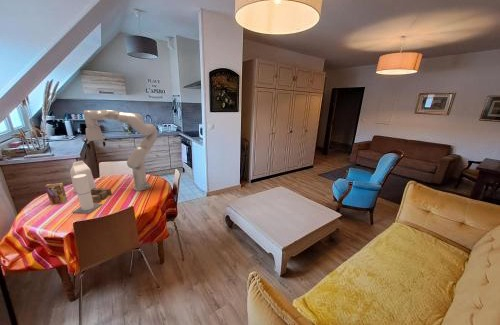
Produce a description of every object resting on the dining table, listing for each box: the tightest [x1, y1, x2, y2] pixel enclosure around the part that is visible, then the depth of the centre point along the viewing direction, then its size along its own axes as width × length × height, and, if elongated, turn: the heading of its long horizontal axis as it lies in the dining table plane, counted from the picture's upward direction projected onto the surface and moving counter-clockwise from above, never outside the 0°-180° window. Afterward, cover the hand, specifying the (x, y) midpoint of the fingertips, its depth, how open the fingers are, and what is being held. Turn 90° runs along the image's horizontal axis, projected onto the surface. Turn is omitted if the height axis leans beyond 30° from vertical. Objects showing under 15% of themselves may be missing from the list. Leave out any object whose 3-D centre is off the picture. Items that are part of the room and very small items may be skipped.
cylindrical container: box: [73, 174, 95, 210], centre depth 140 cm, size 7×7×25 cm
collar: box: [91, 187, 113, 204], centre depth 159 cm, size 15×15×5 cm
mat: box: [72, 203, 103, 215], centre depth 144 cm, size 12×12×1 cm
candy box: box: [44, 182, 68, 205], centre depth 149 cm, size 9×4×15 cm, turn 107°
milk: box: [69, 160, 97, 193], centre depth 168 cm, size 12×12×26 cm
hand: (97, 147), depth 162 cm, fingers open, 9 cm apart
